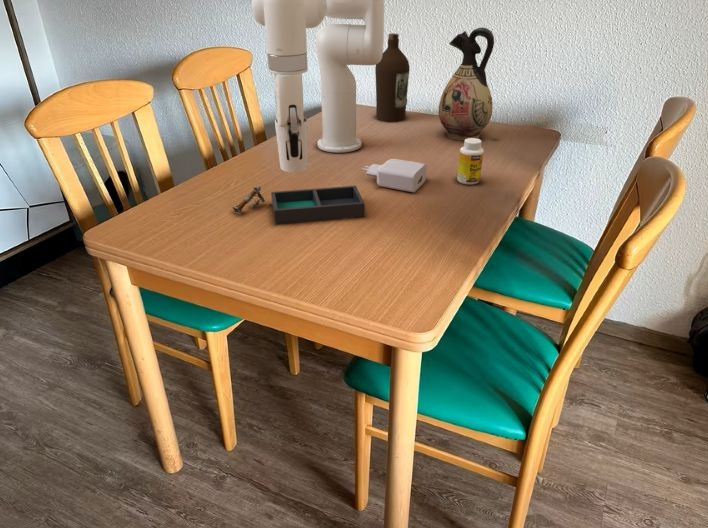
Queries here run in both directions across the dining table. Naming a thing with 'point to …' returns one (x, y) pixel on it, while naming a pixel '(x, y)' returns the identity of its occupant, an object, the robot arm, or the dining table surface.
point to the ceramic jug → (467, 90)
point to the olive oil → (392, 82)
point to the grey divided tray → (317, 204)
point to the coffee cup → (294, 162)
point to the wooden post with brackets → (248, 199)
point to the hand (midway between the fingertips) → (293, 154)
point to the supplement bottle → (470, 162)
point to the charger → (399, 174)
